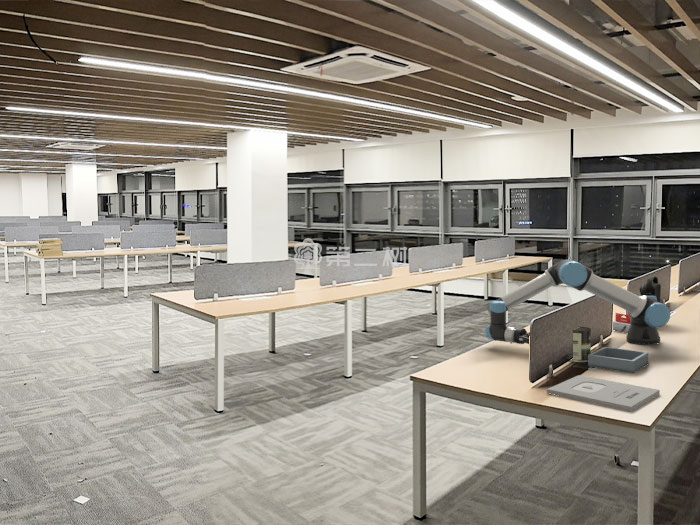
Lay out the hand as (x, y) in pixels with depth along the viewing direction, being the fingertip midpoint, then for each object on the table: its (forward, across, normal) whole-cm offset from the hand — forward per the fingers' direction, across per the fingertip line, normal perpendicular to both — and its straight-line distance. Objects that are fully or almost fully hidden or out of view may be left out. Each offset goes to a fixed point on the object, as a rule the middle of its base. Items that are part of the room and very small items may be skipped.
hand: (559, 340), depth 266 cm
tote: (+26, 0, -7) cm, 27 cm away
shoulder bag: (+8, -99, -8) cm, 100 cm away
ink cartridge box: (+3, -70, -8) cm, 71 cm away
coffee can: (+9, 0, -8) cm, 12 cm away
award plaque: (+36, +43, -8) cm, 56 cm away
